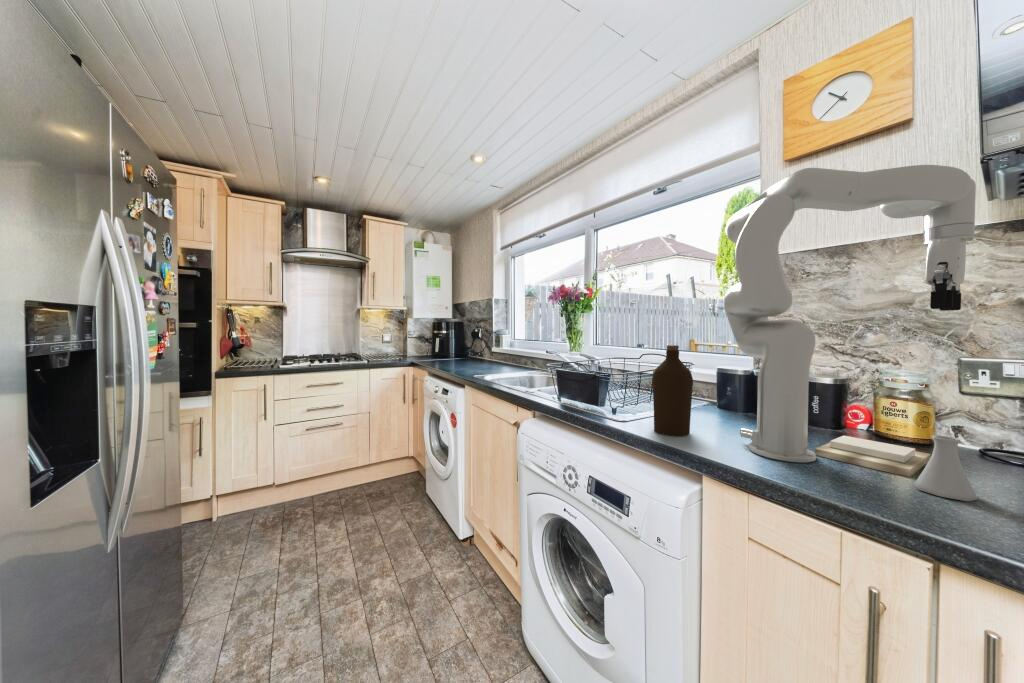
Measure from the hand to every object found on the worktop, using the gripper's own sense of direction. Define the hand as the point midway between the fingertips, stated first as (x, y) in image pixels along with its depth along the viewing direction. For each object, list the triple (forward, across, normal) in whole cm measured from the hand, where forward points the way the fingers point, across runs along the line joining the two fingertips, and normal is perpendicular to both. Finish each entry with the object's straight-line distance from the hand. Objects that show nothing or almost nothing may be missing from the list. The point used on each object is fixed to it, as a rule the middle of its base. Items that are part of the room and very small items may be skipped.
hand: (945, 309), depth 83 cm
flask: (+35, +31, +5) cm, 47 cm away
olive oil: (+34, +37, -45) cm, 68 cm away
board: (+34, +17, -8) cm, 39 cm away
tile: (+32, +13, -8) cm, 35 cm away
